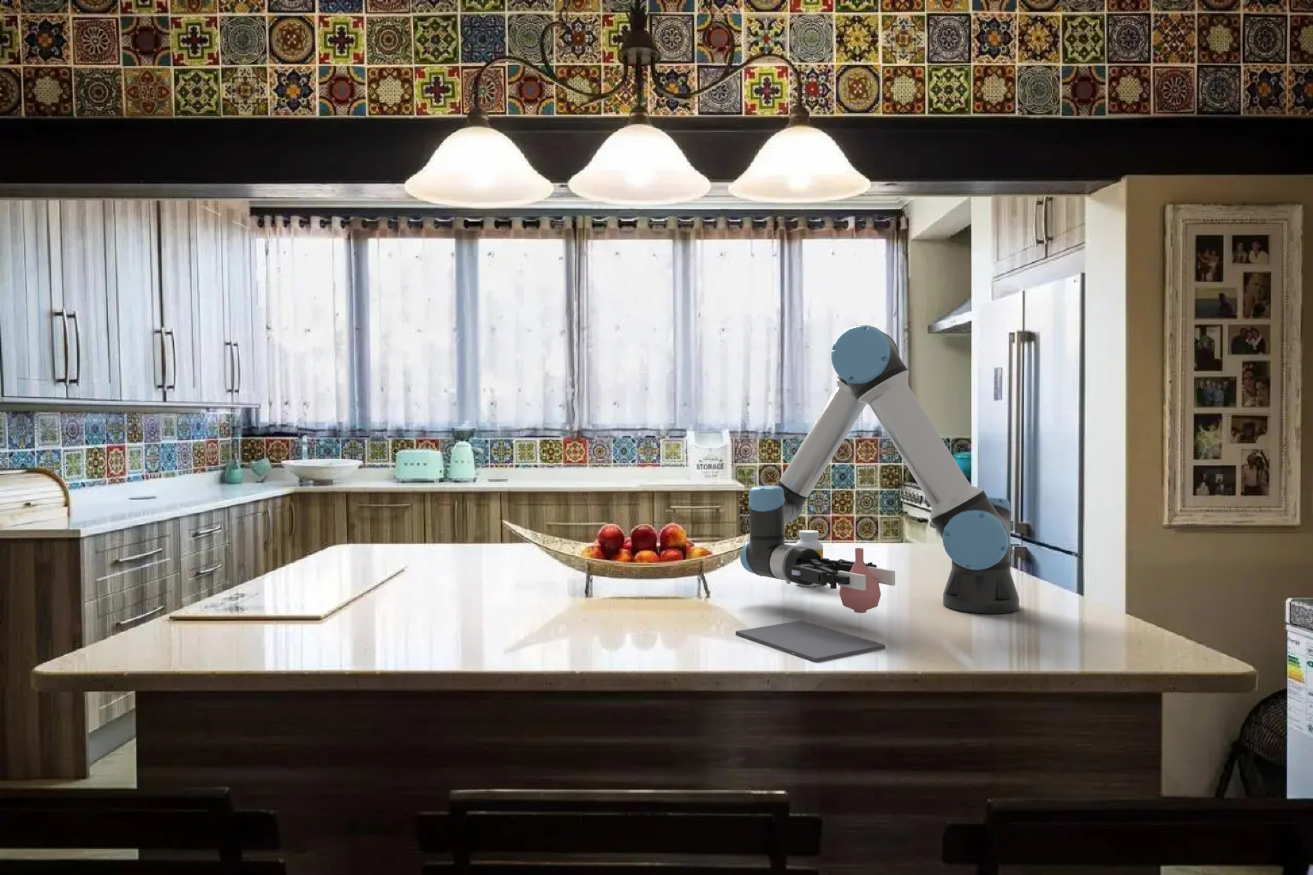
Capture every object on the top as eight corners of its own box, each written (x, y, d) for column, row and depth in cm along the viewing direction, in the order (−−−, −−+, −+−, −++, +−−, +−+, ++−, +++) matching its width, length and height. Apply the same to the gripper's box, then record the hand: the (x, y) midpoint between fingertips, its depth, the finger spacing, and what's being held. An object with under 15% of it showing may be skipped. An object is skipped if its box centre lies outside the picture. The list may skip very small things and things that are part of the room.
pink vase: (874, 617, 164) (873, 552, 164) (834, 614, 168) (833, 550, 167) (885, 609, 171) (884, 546, 170) (846, 606, 174) (845, 544, 174)
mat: (801, 623, 174) (801, 620, 174) (885, 648, 155) (885, 644, 155) (735, 634, 166) (735, 631, 166) (815, 662, 147) (815, 658, 147)
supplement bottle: (827, 583, 215) (827, 530, 214) (817, 588, 209) (816, 533, 209) (801, 581, 218) (801, 528, 218) (790, 585, 213) (790, 531, 212)
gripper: (833, 577, 190) (916, 594, 170) (759, 588, 179) (839, 607, 160) (832, 542, 189) (916, 555, 170) (758, 551, 179) (838, 565, 160)
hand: (879, 580), depth 165 cm, fingers closed on pink vase, 7 cm apart
